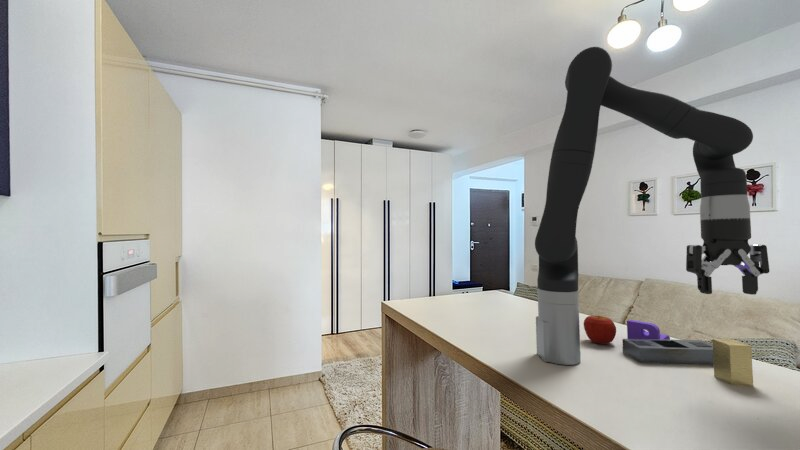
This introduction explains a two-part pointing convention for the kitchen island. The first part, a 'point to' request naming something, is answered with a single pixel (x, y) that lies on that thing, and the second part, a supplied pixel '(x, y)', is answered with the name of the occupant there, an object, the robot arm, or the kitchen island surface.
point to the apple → (600, 329)
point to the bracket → (637, 331)
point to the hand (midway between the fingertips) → (727, 293)
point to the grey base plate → (669, 351)
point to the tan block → (733, 361)
